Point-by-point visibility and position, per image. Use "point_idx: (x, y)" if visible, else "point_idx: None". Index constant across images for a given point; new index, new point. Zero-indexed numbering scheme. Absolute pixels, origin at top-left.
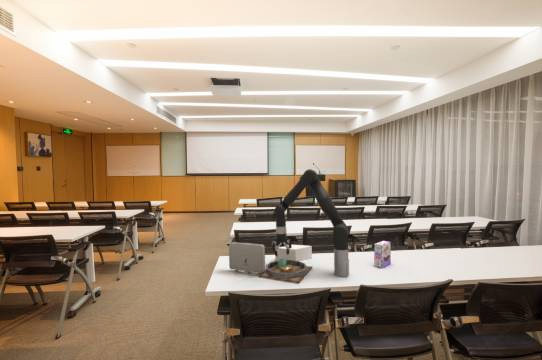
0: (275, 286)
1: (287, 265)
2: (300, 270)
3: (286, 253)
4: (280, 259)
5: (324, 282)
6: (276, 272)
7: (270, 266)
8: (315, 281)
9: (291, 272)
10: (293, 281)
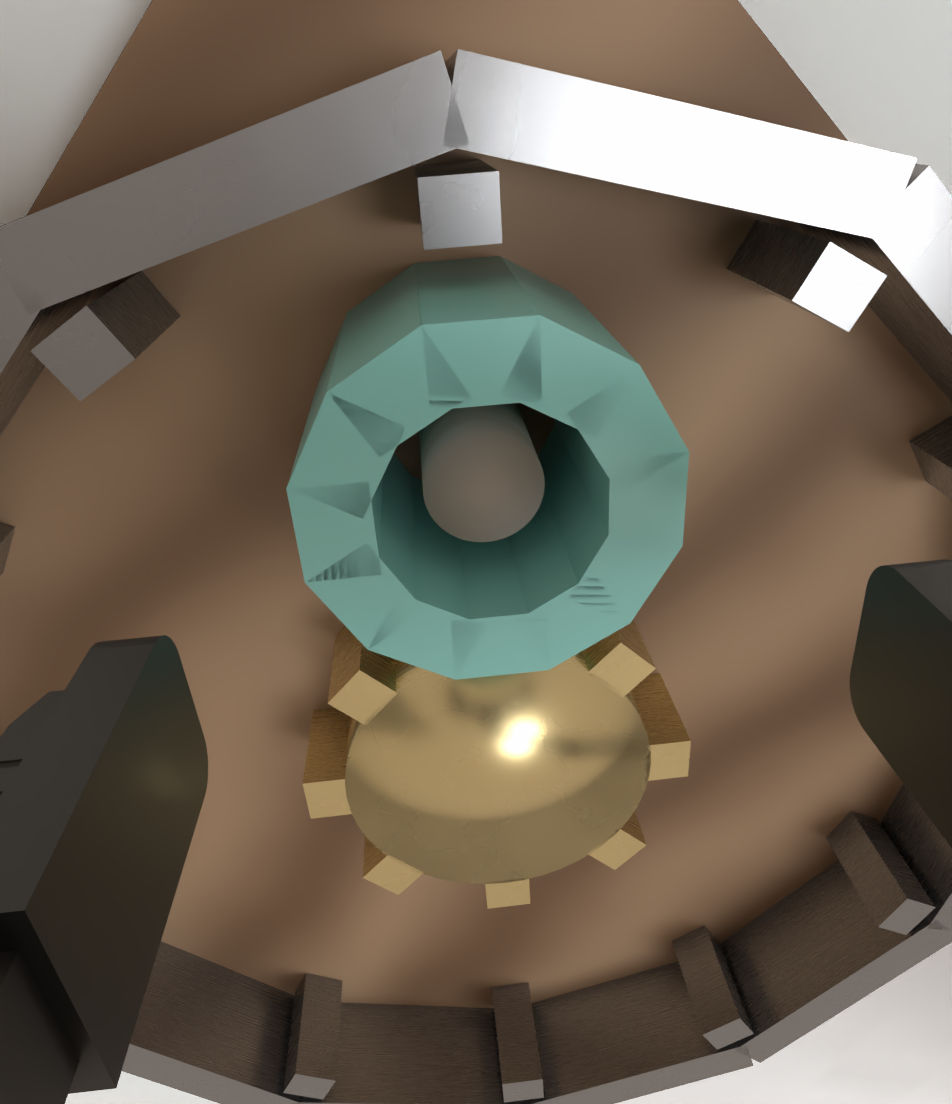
0: (119, 1095)
1: (581, 688)
2: (706, 1036)
3: (893, 572)
4: (459, 404)
5: (874, 1084)
6: (133, 1062)
7: (25, 383)
8: (785, 1050)
9: None
10: None
